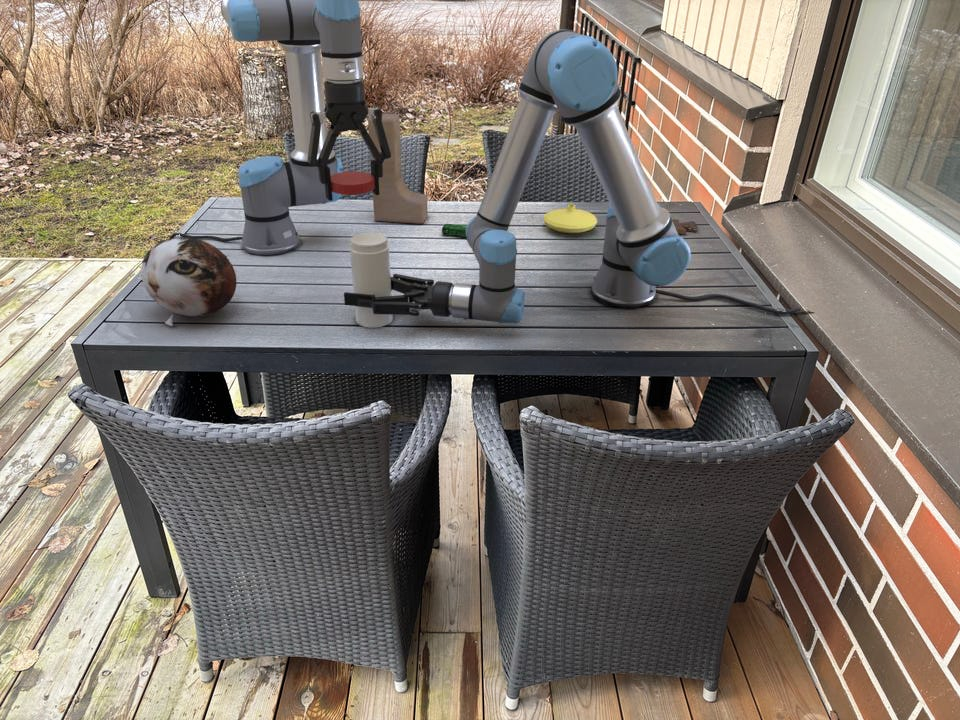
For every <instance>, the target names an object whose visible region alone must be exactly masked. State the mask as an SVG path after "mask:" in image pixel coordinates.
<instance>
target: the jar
mask: <svg viewBox="0 0 960 720" xmlns="http://www.w3.org/2000/svg"><path fill="white" fill-rule="evenodd" d="M388 243H389V242H388V237H387V235H385V234H384V233H382V232H376V231H366V232H365V231H364V232H360V233H356V234H354V235H353V236H351V237H350V245H349V257H350V266H351V278H352V279H351V281H352V291H353V292H352V293H358V294H368V295H373V294H375V297H386V296H393V293H392V292H393V290H392V291H391V277H392V274H391V273H392V272H391V257H390V255H391V254H390V244H388ZM354 313H355V323H356V324H357V325H359V326H360V327H364V328H374V329H375V328H381V327H385V326H388V325H389V324H391V323H392V322H393V320H394V315H391V314H373V308H369V307H359V306H354Z"/></svg>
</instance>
